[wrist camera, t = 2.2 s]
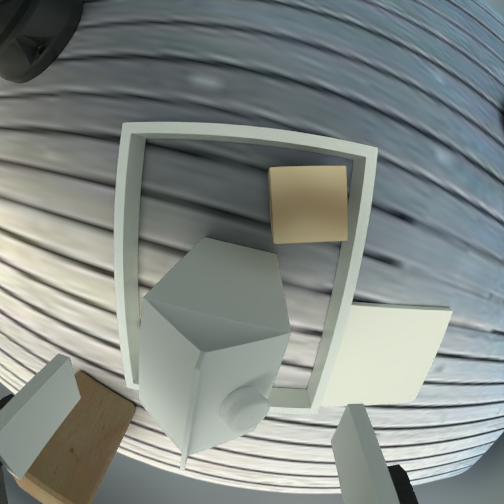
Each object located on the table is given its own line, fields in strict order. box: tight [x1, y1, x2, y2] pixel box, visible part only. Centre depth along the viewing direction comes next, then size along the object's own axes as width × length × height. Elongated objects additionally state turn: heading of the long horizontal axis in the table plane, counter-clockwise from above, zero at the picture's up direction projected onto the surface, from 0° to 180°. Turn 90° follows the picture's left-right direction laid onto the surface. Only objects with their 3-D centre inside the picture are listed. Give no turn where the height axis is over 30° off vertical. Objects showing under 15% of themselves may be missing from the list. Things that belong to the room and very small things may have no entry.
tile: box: [320, 302, 453, 406], centre depth 29 cm, size 14×14×1 cm
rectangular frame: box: [114, 122, 378, 414], centre depth 26 cm, size 28×22×4 cm
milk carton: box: [139, 237, 290, 470], centre depth 19 cm, size 7×7×19 cm
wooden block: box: [13, 372, 135, 504], centre depth 24 cm, size 10×10×20 cm
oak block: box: [268, 166, 348, 244], centre depth 22 cm, size 5×5×8 cm
